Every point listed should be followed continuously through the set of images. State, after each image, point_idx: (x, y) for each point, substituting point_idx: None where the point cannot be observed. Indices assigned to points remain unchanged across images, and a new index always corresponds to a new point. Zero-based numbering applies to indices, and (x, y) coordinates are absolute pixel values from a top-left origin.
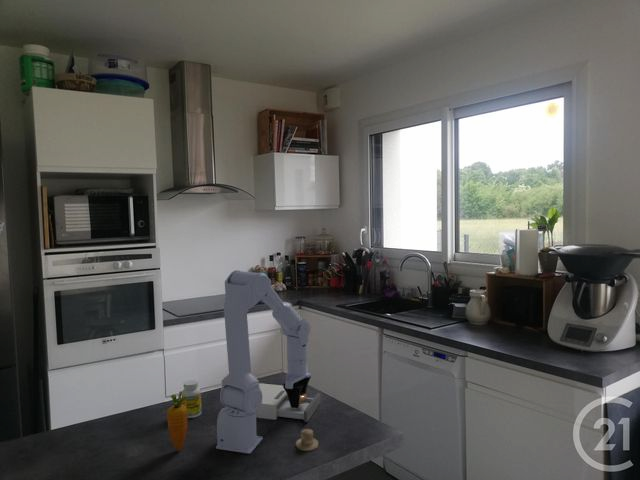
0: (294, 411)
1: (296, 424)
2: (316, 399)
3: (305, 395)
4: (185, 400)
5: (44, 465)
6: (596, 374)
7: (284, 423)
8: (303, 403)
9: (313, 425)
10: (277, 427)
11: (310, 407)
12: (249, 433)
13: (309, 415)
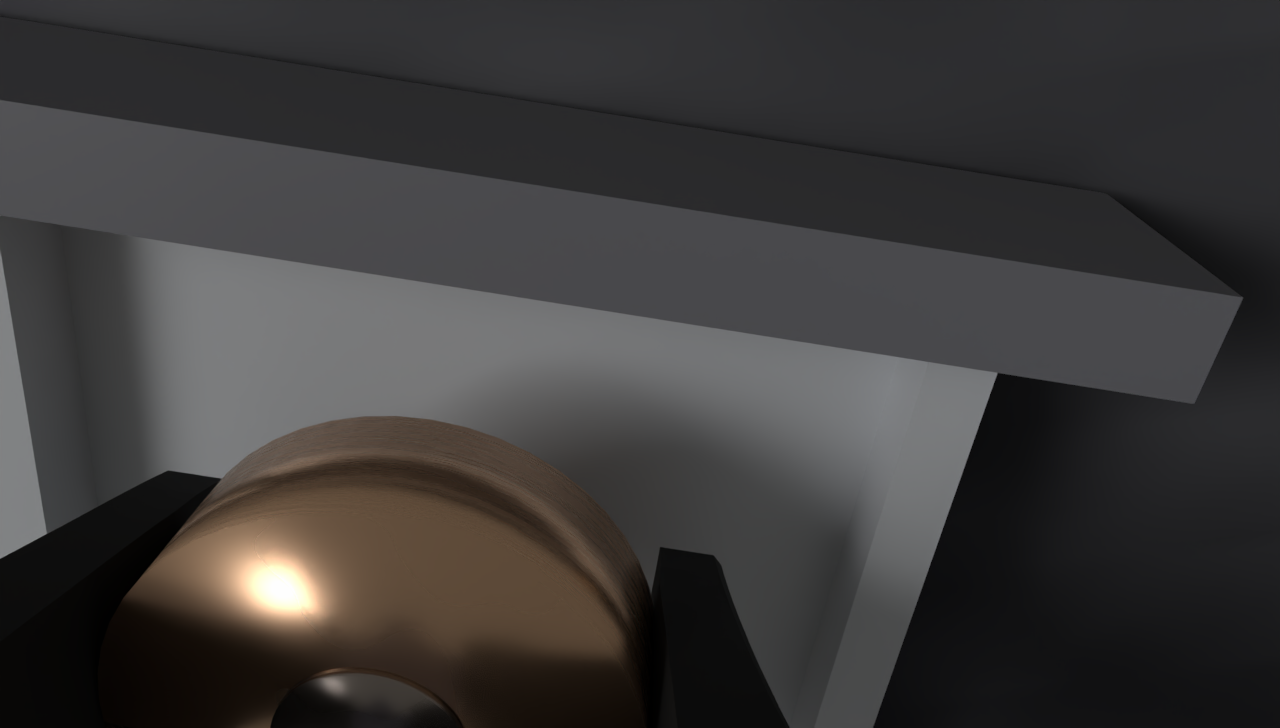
0: (862, 584)
1: (1128, 409)
2: (166, 121)
3: (299, 547)
4: None
5: None
6: None
7: (1060, 622)
8: (560, 474)
9: (1235, 4)
10: (1219, 703)
11: (870, 233)
12: None
13: (938, 189)
